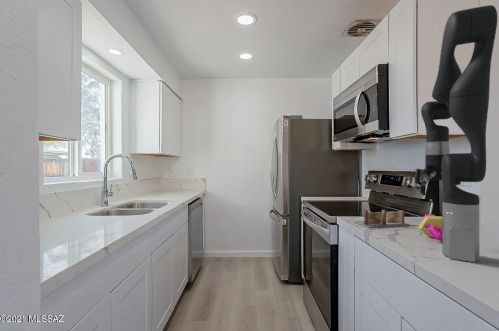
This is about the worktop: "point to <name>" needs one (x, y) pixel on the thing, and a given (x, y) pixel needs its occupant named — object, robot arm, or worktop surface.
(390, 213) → the fence fixed
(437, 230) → the toy
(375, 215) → the fence gate
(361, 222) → the mat
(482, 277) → the worktop surface
